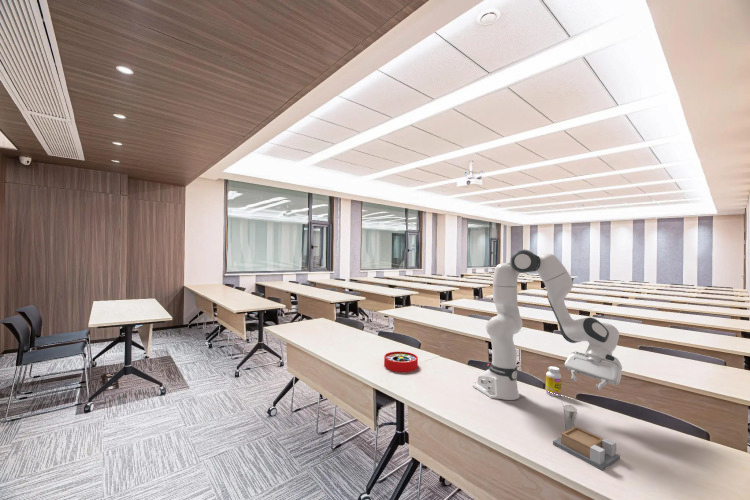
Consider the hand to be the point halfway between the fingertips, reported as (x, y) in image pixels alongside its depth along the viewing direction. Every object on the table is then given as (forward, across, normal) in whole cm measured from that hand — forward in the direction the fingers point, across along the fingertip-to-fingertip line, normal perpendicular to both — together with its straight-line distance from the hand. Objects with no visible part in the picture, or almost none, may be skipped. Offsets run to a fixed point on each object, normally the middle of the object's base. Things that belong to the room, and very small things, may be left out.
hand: (584, 384), depth 134 cm
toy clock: (+32, -88, -10) cm, 94 cm away
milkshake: (+19, 0, +2) cm, 19 cm away
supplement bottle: (+1, -21, +21) cm, 30 cm away
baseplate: (+26, +11, -5) cm, 29 cm away
